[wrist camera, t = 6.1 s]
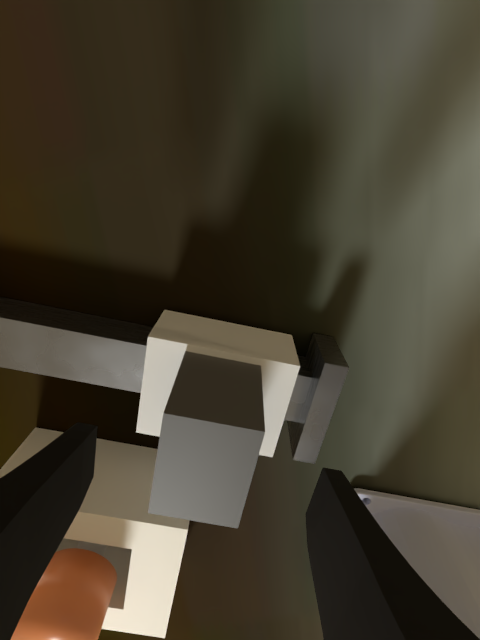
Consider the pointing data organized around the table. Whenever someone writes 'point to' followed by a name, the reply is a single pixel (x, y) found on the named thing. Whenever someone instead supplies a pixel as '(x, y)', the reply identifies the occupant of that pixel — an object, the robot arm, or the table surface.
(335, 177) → the table surface
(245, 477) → the carriage
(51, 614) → the plunger
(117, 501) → the white hollow block
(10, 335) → the rail
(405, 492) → the table surface
